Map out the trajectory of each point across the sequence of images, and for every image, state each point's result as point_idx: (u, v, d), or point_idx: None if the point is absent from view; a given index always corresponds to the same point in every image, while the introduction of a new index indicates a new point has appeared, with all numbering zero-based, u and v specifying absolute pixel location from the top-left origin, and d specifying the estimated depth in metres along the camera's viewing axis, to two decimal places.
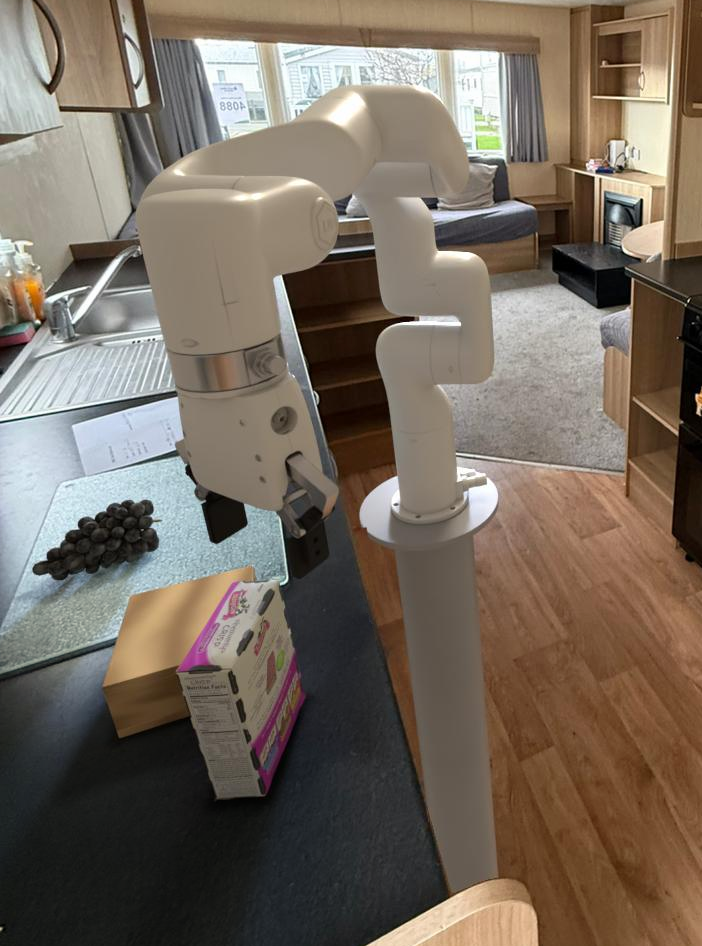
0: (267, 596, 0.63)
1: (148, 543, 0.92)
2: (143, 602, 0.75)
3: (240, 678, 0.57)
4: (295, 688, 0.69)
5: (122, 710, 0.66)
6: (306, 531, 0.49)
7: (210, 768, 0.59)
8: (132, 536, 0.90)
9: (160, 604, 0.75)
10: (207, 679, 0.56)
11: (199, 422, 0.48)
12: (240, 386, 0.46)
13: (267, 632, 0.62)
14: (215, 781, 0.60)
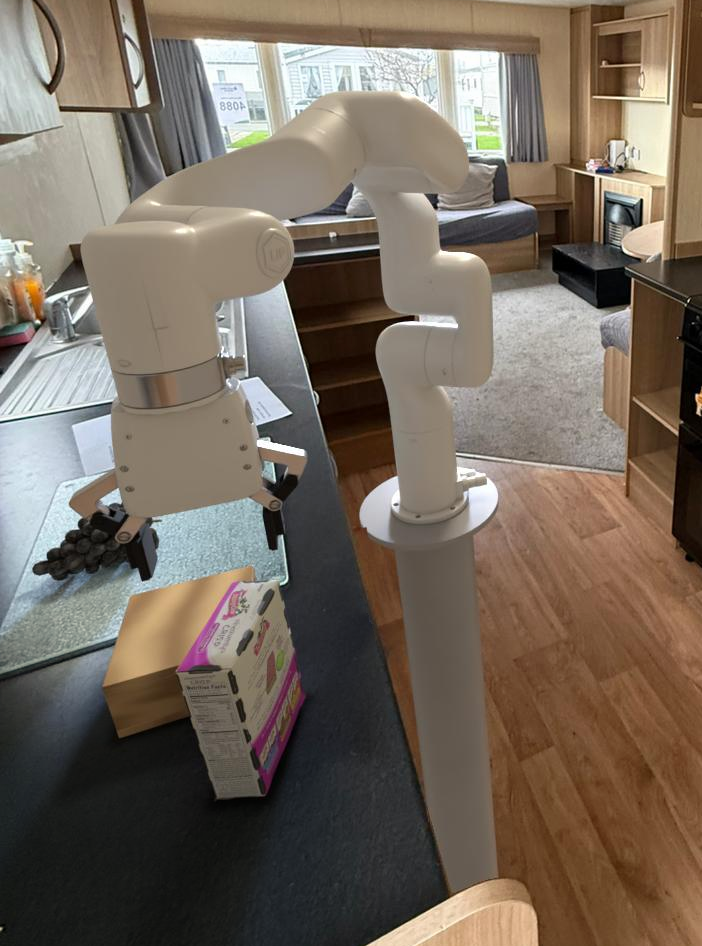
0: (267, 595, 0.63)
1: None
2: (143, 602, 0.75)
3: (240, 678, 0.57)
4: (295, 688, 0.69)
5: (122, 710, 0.66)
6: (282, 501, 0.58)
7: (210, 768, 0.59)
8: None
9: (160, 604, 0.75)
10: (207, 679, 0.56)
11: (160, 443, 0.51)
12: (219, 388, 0.52)
13: (267, 632, 0.62)
14: (215, 781, 0.60)
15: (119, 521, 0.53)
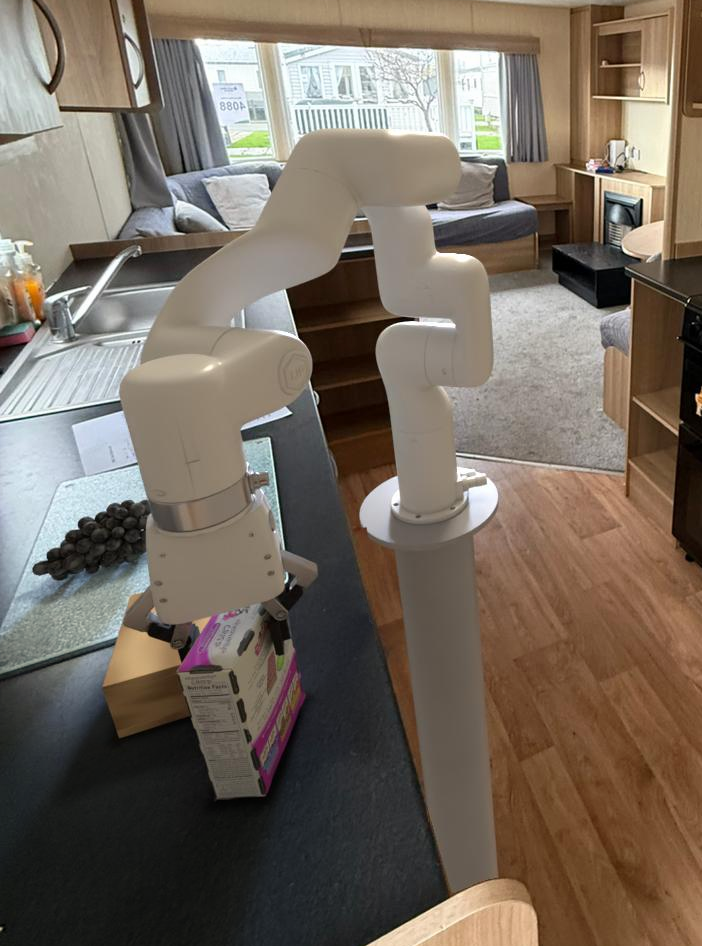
0: None
1: None
2: None
3: (241, 677, 0.57)
4: (295, 688, 0.69)
5: (122, 710, 0.66)
6: (288, 610, 0.62)
7: (210, 768, 0.59)
8: (132, 536, 0.90)
9: None
10: (208, 679, 0.56)
11: (192, 559, 0.55)
12: (245, 506, 0.56)
13: (268, 632, 0.62)
14: (215, 781, 0.60)
15: (173, 629, 0.58)
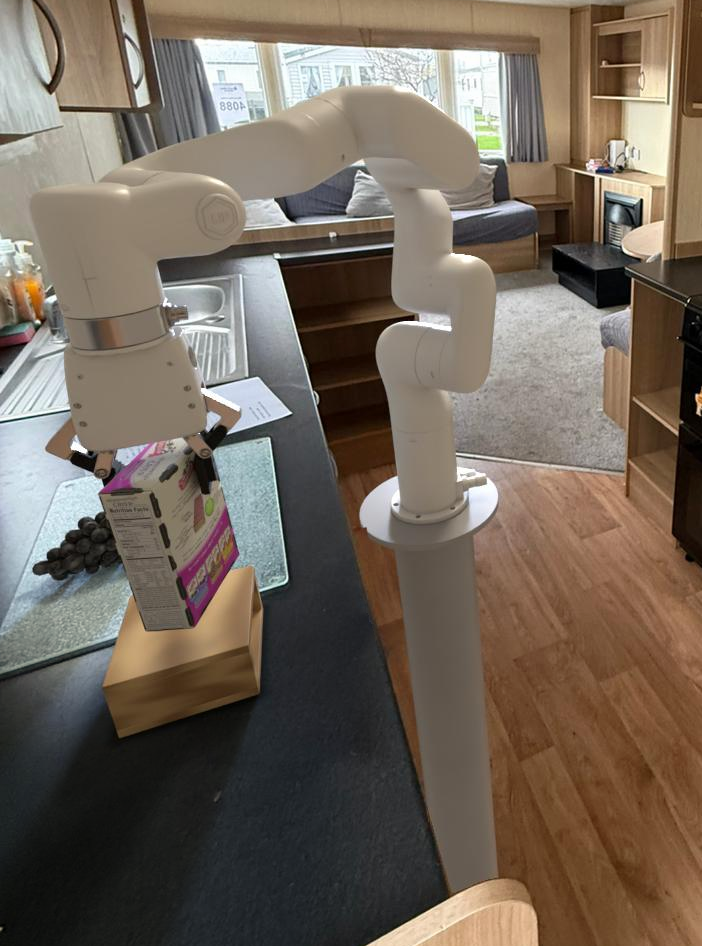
0: None
1: None
2: None
3: (163, 503, 0.59)
4: (227, 540, 0.71)
5: (122, 710, 0.66)
6: (212, 450, 0.64)
7: (137, 598, 0.62)
8: None
9: None
10: (129, 501, 0.58)
11: (110, 383, 0.57)
12: (163, 334, 0.58)
13: (194, 473, 0.64)
14: (143, 612, 0.62)
15: (97, 459, 0.60)
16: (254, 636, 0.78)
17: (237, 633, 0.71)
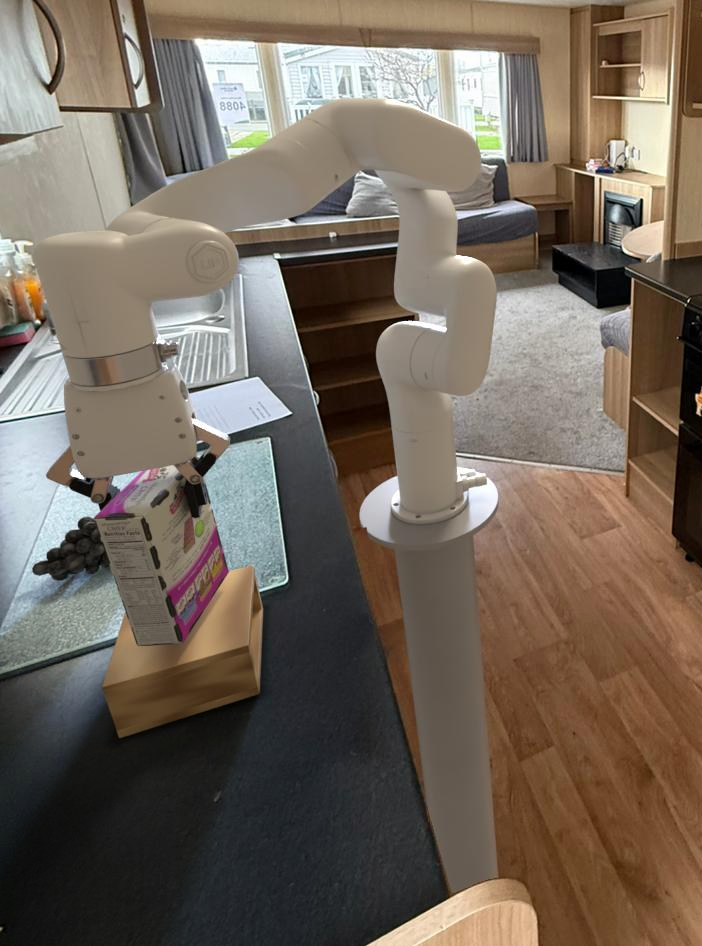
0: None
1: None
2: None
3: (153, 527, 0.63)
4: (216, 559, 0.75)
5: (122, 710, 0.66)
6: (202, 476, 0.68)
7: (130, 615, 0.66)
8: None
9: None
10: (122, 525, 0.62)
11: (106, 415, 0.61)
12: (155, 370, 0.62)
13: (184, 497, 0.69)
14: (135, 627, 0.66)
15: (94, 485, 0.64)
16: (254, 636, 0.78)
17: (237, 633, 0.71)
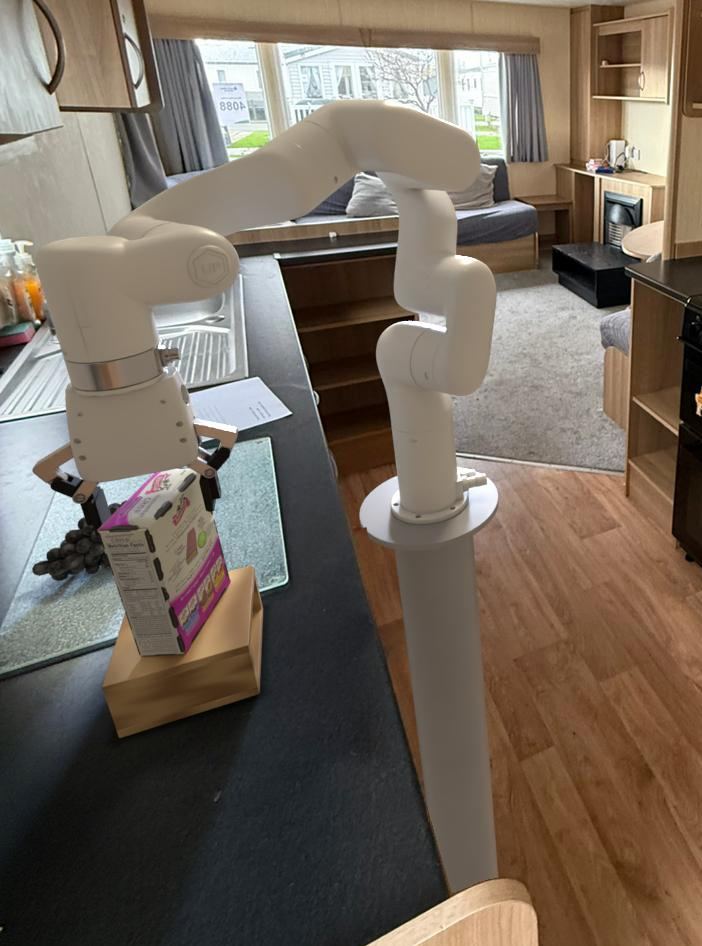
0: (188, 478, 0.70)
1: None
2: None
3: (157, 539, 0.64)
4: (218, 569, 0.75)
5: (122, 710, 0.66)
6: (216, 470, 0.68)
7: (133, 626, 0.66)
8: None
9: None
10: (126, 537, 0.63)
11: (107, 420, 0.61)
12: (157, 374, 0.62)
13: (187, 508, 0.69)
14: (138, 638, 0.67)
15: (76, 485, 0.64)
16: (254, 636, 0.78)
17: (237, 633, 0.71)
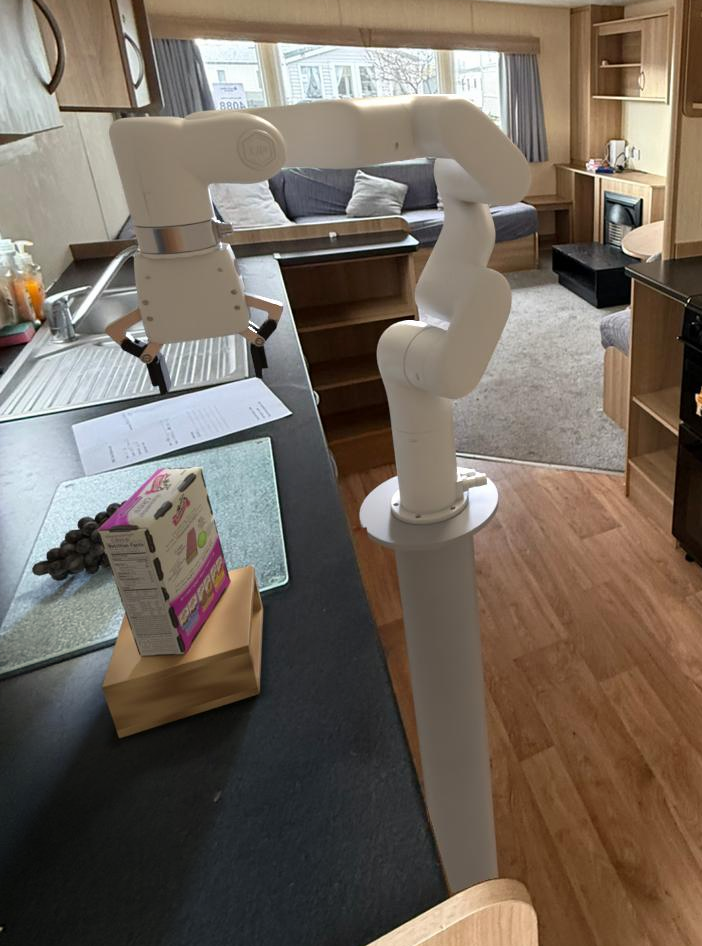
0: (188, 478, 0.70)
1: None
2: None
3: (157, 539, 0.64)
4: (218, 569, 0.75)
5: (122, 710, 0.66)
6: (265, 340, 0.76)
7: (133, 626, 0.66)
8: None
9: None
10: (126, 537, 0.63)
11: (171, 283, 0.69)
12: (214, 244, 0.70)
13: (187, 509, 0.69)
14: (138, 638, 0.67)
15: (142, 347, 0.71)
16: (254, 636, 0.78)
17: (237, 633, 0.71)
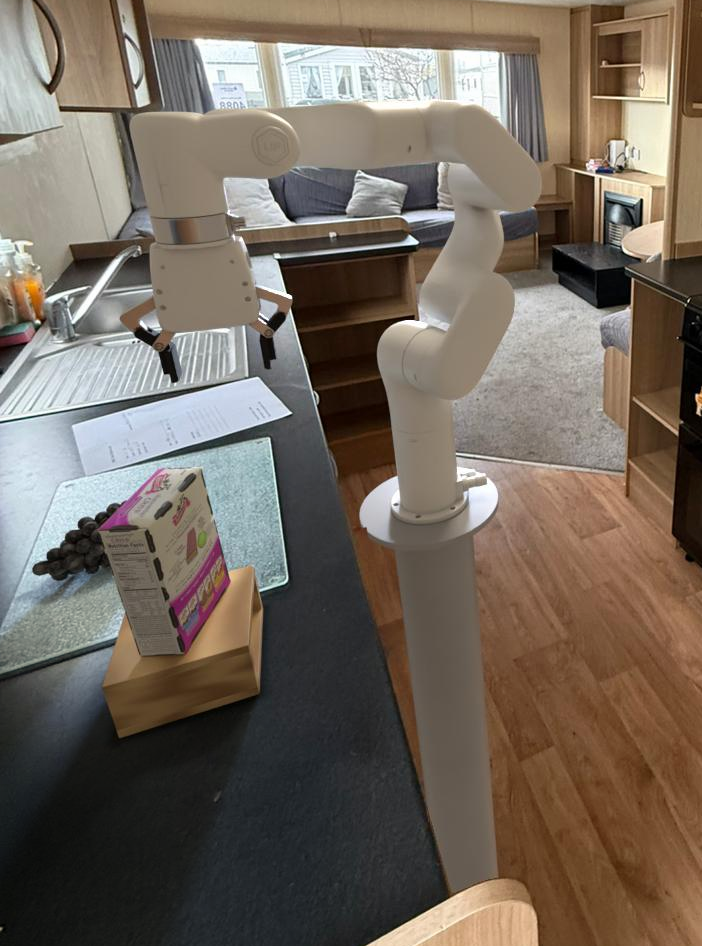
0: (188, 478, 0.70)
1: None
2: None
3: (157, 539, 0.64)
4: (218, 569, 0.75)
5: (122, 710, 0.66)
6: (274, 332, 0.78)
7: (133, 626, 0.66)
8: None
9: None
10: (126, 537, 0.63)
11: (185, 274, 0.70)
12: (227, 237, 0.72)
13: (187, 509, 0.69)
14: (138, 638, 0.67)
15: (155, 335, 0.73)
16: (254, 636, 0.78)
17: (237, 633, 0.71)
